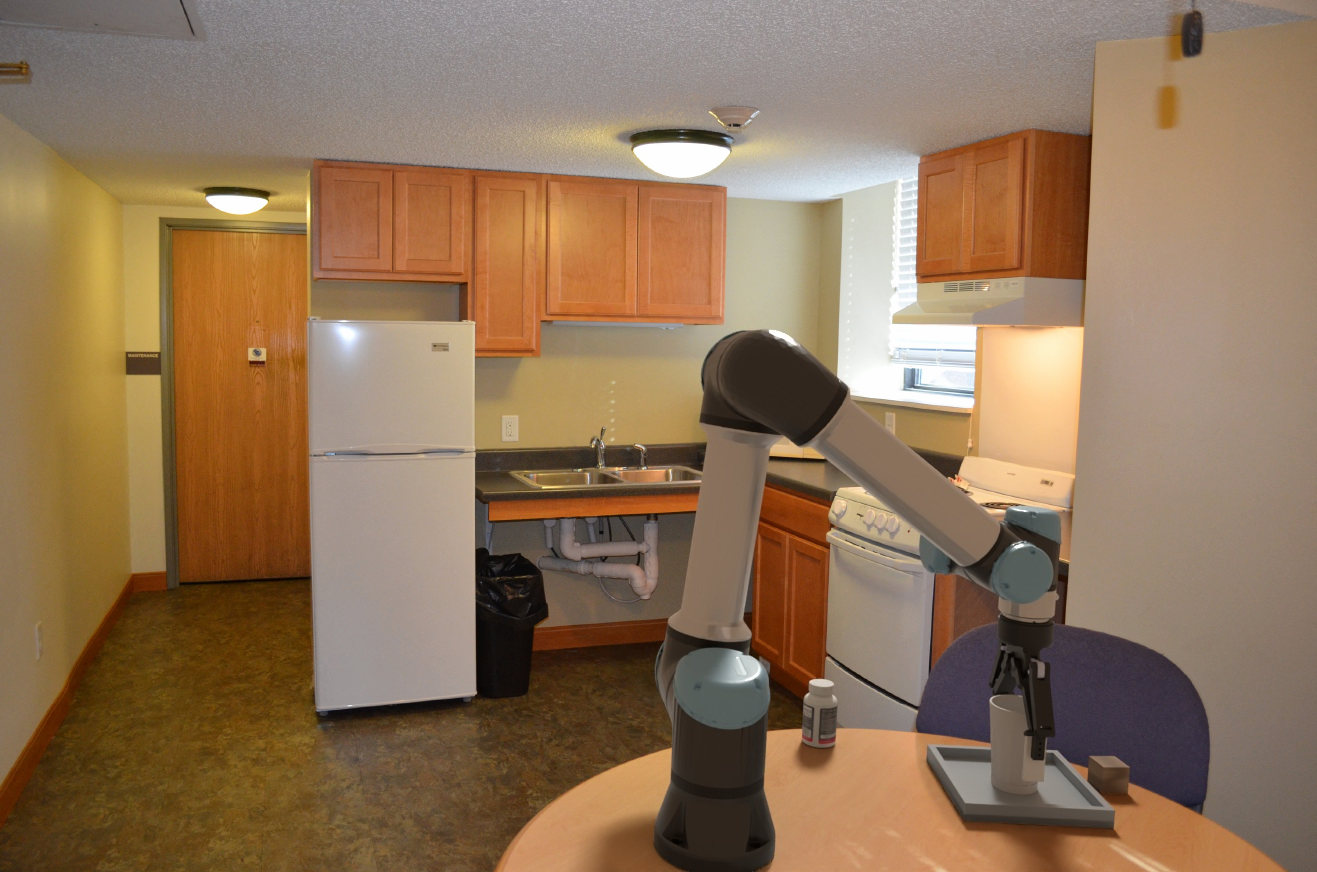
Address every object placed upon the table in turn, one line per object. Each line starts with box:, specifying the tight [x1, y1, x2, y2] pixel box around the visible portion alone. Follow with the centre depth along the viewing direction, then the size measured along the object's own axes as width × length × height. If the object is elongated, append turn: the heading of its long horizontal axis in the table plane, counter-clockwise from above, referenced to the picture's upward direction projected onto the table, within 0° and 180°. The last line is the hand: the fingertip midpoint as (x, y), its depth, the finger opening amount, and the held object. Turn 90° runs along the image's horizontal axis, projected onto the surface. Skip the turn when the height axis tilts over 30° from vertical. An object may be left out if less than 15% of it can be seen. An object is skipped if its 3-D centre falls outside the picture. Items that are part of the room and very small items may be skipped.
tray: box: [925, 743, 1116, 829], centre depth 140 cm, size 20×20×2 cm
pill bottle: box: [801, 678, 839, 749], centre depth 155 cm, size 5×5×10 cm
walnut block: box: [1086, 755, 1131, 794], centre depth 143 cm, size 4×4×4 cm
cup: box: [989, 694, 1042, 795], centre depth 140 cm, size 8×8×12 cm
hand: (1015, 759), depth 140 cm, fingers open, 13 cm apart
